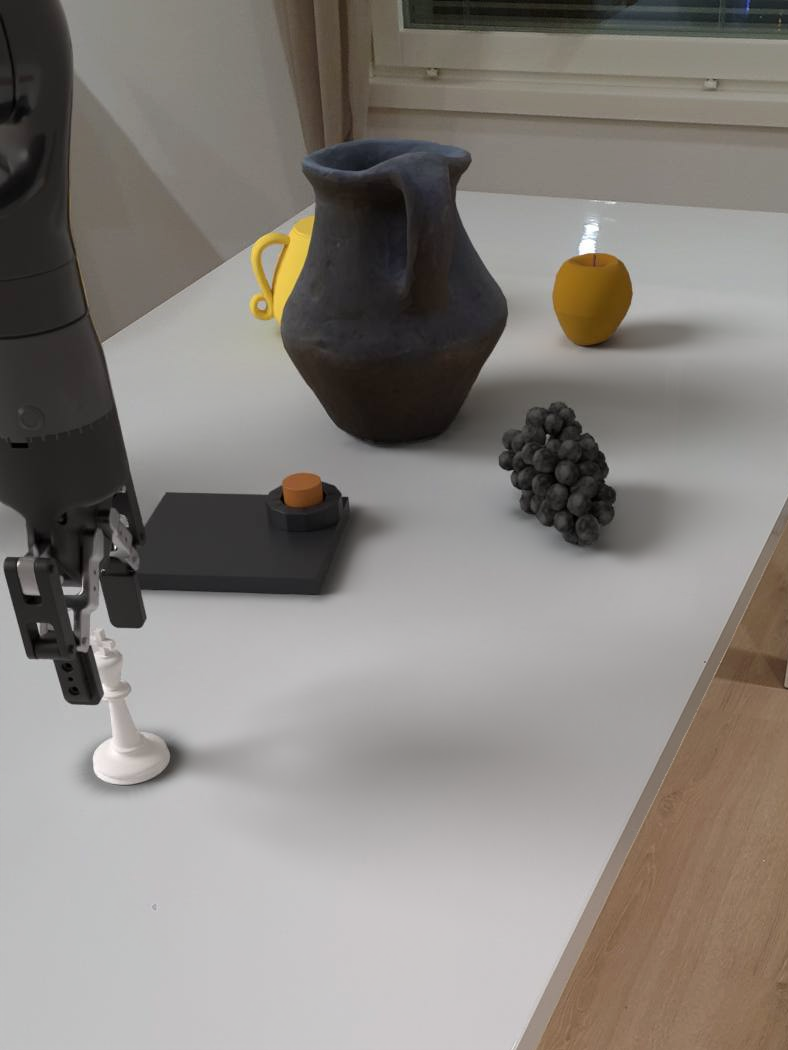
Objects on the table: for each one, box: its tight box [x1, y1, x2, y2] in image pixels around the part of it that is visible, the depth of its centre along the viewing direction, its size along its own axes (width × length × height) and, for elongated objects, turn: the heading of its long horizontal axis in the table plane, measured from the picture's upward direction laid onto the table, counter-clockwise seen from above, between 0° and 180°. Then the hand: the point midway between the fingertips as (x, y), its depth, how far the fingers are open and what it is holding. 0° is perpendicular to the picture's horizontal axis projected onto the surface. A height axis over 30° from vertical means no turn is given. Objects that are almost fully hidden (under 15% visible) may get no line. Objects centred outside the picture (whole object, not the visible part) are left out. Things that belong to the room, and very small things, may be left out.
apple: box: [551, 252, 634, 346], centre depth 136 cm, size 8×8×9 cm
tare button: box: [281, 472, 323, 507], centre depth 105 cm, size 3×3×2 cm
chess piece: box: [90, 627, 171, 786], centre depth 81 cm, size 5×5×10 cm
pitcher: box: [280, 137, 509, 444], centre depth 115 cm, size 21×22×25 cm
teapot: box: [249, 214, 315, 327], centre depth 141 cm, size 20×19×13 cm
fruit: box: [497, 401, 617, 547], centre depth 105 cm, size 9×8×15 cm
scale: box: [135, 480, 351, 595], centre depth 105 cm, size 16×14×3 cm
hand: (108, 662), depth 79 cm, fingers open, 8 cm apart
